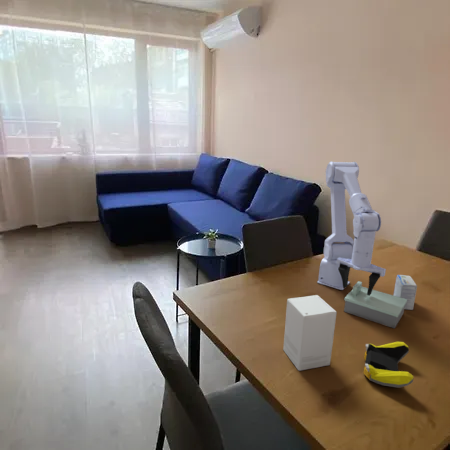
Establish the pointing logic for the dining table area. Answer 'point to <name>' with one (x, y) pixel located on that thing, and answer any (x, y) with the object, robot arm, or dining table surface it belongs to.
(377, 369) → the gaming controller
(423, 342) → the dining table surface
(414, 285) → the medicine box
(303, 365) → the supplement box
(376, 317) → the tub
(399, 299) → the lid
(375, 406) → the dining table surface
